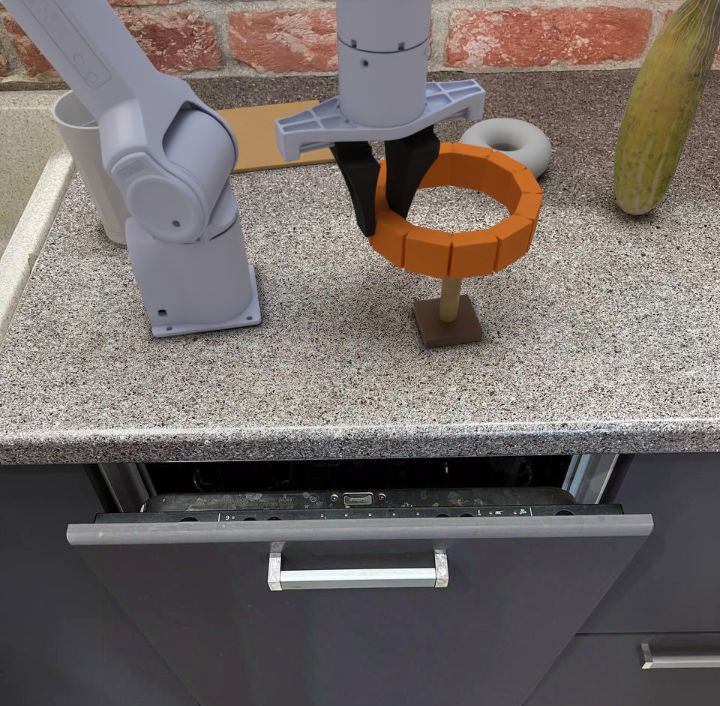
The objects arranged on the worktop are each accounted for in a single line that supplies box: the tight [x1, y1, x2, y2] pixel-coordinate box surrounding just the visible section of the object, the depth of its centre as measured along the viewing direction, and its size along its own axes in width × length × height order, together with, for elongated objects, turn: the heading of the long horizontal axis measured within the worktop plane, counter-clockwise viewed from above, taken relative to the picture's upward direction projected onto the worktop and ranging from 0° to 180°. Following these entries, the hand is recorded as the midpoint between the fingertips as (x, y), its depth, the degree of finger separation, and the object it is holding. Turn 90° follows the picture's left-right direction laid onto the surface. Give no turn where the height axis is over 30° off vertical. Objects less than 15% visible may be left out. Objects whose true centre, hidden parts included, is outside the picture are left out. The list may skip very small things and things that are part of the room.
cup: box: [51, 89, 132, 246], centre depth 64 cm, size 8×8×12 cm
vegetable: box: [613, 0, 720, 216], centre depth 62 cm, size 6×6×20 cm
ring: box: [367, 141, 544, 280], centre depth 54 cm, size 14×14×3 cm
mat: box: [214, 99, 337, 174], centre depth 78 cm, size 13×13×1 cm
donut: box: [458, 117, 553, 180], centre depth 73 cm, size 10×3×10 cm
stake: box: [412, 275, 484, 349], centre depth 58 cm, size 5×5×6 cm
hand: (380, 225), depth 53 cm, fingers closed on ring, 2 cm apart
